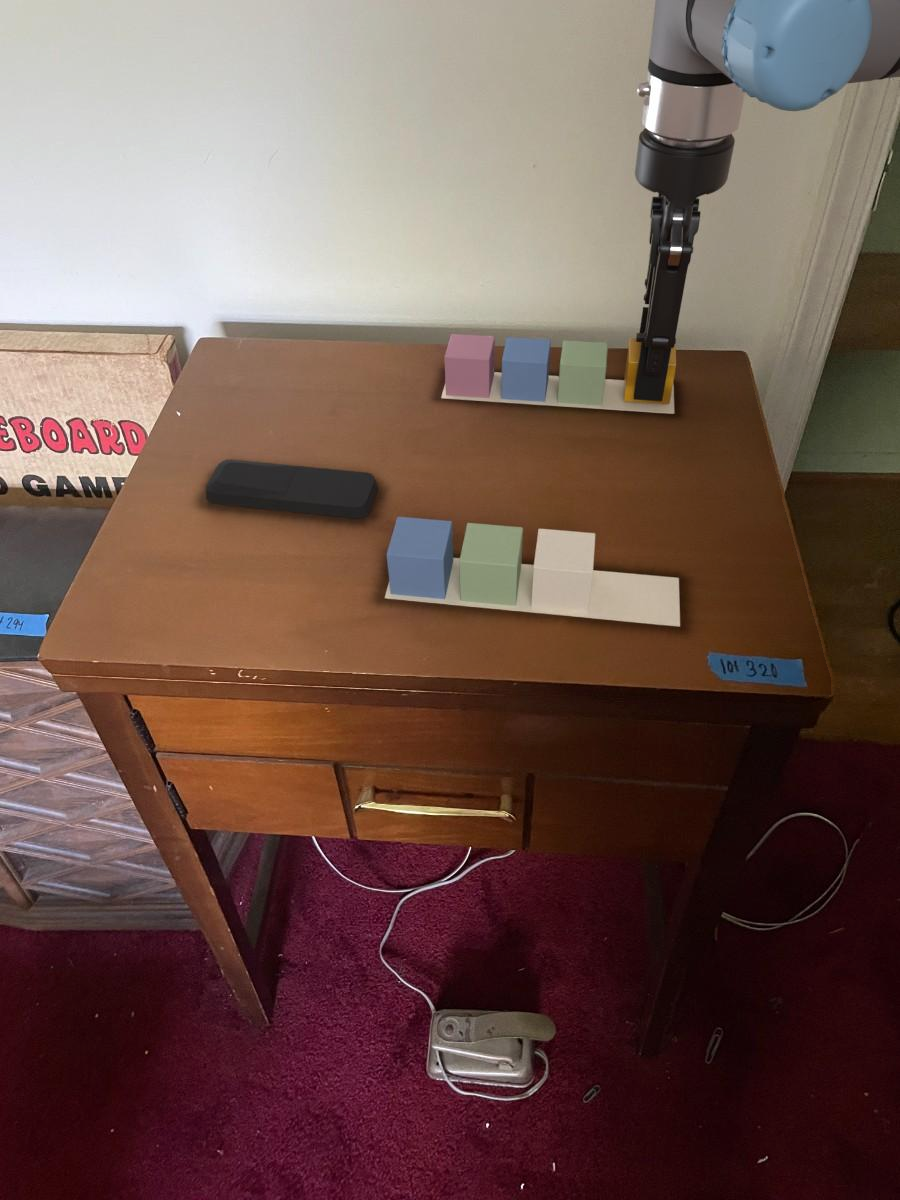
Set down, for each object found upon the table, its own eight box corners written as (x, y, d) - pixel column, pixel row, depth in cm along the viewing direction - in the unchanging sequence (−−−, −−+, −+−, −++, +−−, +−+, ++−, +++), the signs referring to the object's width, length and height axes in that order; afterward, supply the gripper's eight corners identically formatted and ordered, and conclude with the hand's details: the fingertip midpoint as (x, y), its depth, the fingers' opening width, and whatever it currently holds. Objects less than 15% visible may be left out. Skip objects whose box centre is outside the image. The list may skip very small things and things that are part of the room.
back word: (673, 384, 91) (680, 344, 88) (674, 413, 87) (681, 373, 84) (449, 370, 94) (448, 331, 90) (441, 398, 90) (439, 358, 87)
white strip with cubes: (678, 578, 72) (687, 537, 69) (679, 626, 68) (689, 585, 65) (397, 553, 75) (393, 512, 71) (384, 598, 71) (380, 557, 68)
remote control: (380, 488, 81) (222, 468, 83) (379, 473, 80) (218, 453, 82) (367, 524, 78) (203, 502, 80) (366, 509, 77) (199, 487, 78)
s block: (668, 379, 90) (675, 340, 87) (669, 404, 87) (676, 365, 84) (624, 376, 91) (629, 337, 87) (623, 401, 88) (628, 362, 84)
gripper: (641, 92, 78) (612, 335, 95) (638, 172, 66) (606, 433, 83) (729, 94, 77) (684, 339, 94) (743, 176, 65) (689, 439, 82)
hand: (648, 383), depth 88 cm, fingers closed on s block, 4 cm apart
